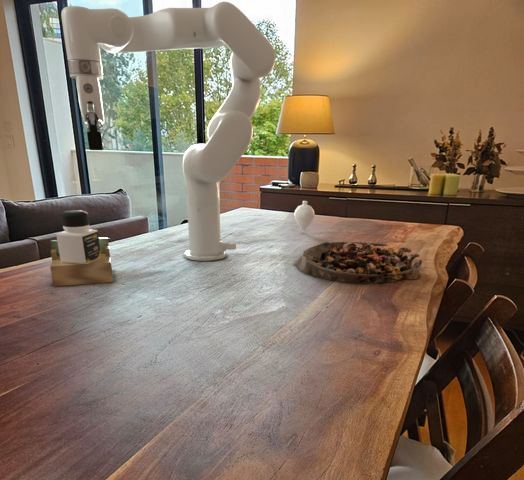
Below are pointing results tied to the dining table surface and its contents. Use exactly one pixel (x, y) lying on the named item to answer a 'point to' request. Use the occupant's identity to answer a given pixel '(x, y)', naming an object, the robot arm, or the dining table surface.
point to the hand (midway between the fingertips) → (96, 149)
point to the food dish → (358, 263)
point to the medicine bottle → (77, 239)
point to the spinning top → (304, 215)
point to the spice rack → (81, 268)
